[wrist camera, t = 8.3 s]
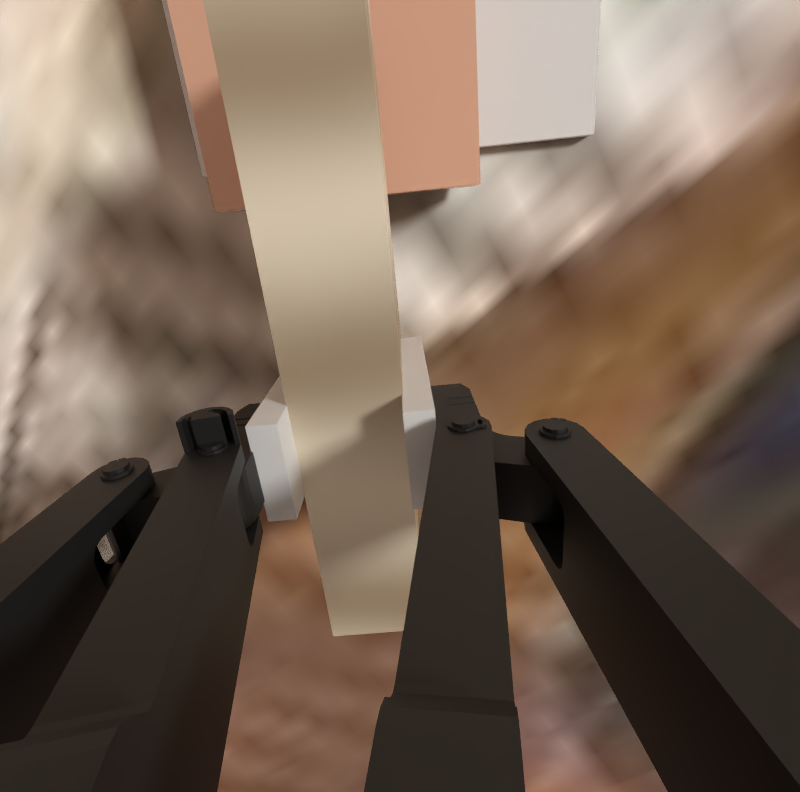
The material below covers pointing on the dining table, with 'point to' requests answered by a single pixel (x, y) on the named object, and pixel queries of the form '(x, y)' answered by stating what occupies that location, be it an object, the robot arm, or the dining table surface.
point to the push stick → (327, 282)
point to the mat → (519, 70)
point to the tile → (397, 93)
